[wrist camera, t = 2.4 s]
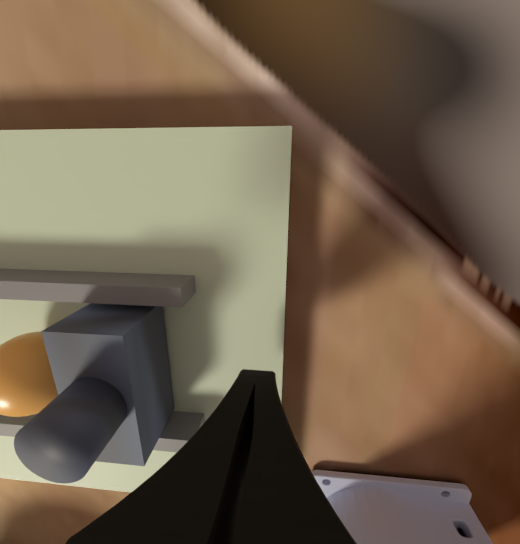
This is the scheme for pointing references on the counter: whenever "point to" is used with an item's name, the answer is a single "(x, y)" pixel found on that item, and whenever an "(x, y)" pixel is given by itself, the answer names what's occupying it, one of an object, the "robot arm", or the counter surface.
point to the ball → (25, 376)
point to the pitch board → (150, 256)
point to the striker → (101, 392)
